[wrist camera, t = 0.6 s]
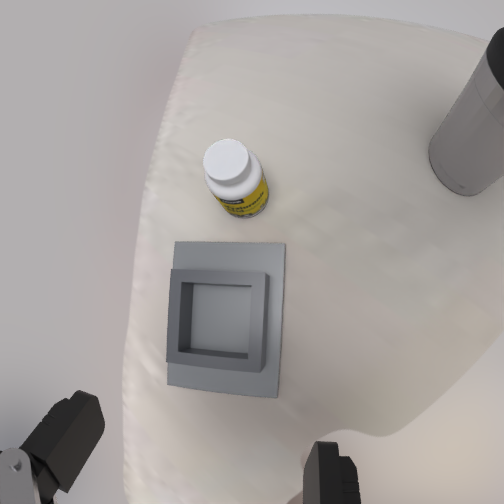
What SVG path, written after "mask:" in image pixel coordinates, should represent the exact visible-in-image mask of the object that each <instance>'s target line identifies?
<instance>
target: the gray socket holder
mask: <svg viewBox="0 0 504 504" xmlns="http://www.w3.org/2000/svg"><path fill="white" fill-rule="evenodd" d="M284 270H285V243H240V242H175V247H174V258H173V269H171V277H170V291H169V308H168V328H167V355H166V362H168V378H167V385H171V386H177V387H183V388H189V389H196V390H203V391H210V392H218V393H226V394H235V395H244V396H255V397H267V398H277V396H278V384H279V369H280V353H281V335H282V316H283V294H284Z"/></svg>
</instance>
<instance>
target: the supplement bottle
mask: <svg viewBox="0 0 504 504" xmlns="http://www.w3.org/2000/svg"><path fill="white" fill-rule="evenodd" d="M203 166H204V169H205V181H206V184H207V186H208V188H209V190H210V191H211V192H212V194H213V195H214V196H215V197H216V199H217V200H218V201H219V202H220V204H221V205H222V206H223V207H224V209H225V210H226V211H227V212H228V213H230V214H231V215H233V216H235V217H239V218H248V217H252V216H255V215H256V214H258V213H259V212H261V211H262V210H263V208H264V207H265V205H266V203H267V201H268V195H269V194H268V186H267V183H266V180H265V176H264V173H263V170H262V167H261V164H260V161H259V159H258V158H257V156H256V155H255V154H254V153H253V152H252V151H250V150H249V149H247V148H246V147H245V146H244V145H243V144H242V143H241V142H239V141H237V140H235V139H223V140H219V141H217V142H215V143H214V144H212V145H211V146H210V147H209V148H208V149H207V151H206V152H205V155H204V158H203Z"/></svg>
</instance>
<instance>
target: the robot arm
mask: <svg viewBox="0 0 504 504" xmlns="http://www.w3.org/2000/svg"><path fill="white" fill-rule="evenodd" d="M429 158H430V162H431V165H432V167H433V170H434V172H435V173H436V175H437V176H438V178H439V179H440V180H441V181H442V182H443V184H444V185H446V186H447V187H448V188H449V189H450V190H452V191H454V192H456V193H458V194H461V195H465V196H472V195H476V194H478V193H480V192H482V191H483V190H484V189H486V188H487V187H488V186H490V185H491V184H492V183H493V182H495V181H496V180H498V179H499V178H500V177H501V176H503V175H504V27H503V28H501V29H499V30H498V31H497V32H496V33H495V34H494V36H493V38H492V39H491V41H490V43H489V45H488V47H487V49H486V51H485V53H484V54H483V56H482V58H481V60H480V62H479V63H478V65H477V67H476V69H475V71H474V72H473V74H472V76H471V78H470V79H469V81H468V83H467V84H466V86H465V88H464V89H463V91H462V93H461V94H460V96H459V98H458V99H457V101H456V102H455V104H454V106H453V107H452V109H451V110H450V112H449V114H448V115H447V117H446V118H445V120H444V121H443V123H442V124H441V126H440V127H439V129H438V130H437V132H436V133H435V135H434V136H433V138H432V140H431V142H430V146H429ZM104 428H105V421H104V418H103V414H102V411H101V407H100V404H99V400H98V398H97V397H96V396H94V395H91V394H88V393H86V392H83V391H81V390H78V391H76V392H75V393H74V394H73V396H72V397H71V398H70V399H67V398H64V399H63V400H61V401H59V402H58V403H56V404H54V406H53V407H52V408H51V409H50V411H49V412H48V414H47V415H46V416H45V417H44V418H43V419H42V422H40V423H39V424H38V426H37V427H36V428H35V429H34V431H33V432H32V433H31V434H30V436H29V437H28V438H27V439H26V441H25V442H24V443H23V444H22V446H21V447H19V448H9V449H6V450H4V451H0V504H58V503H57V499H56V495H55V493H56V491H57V490H58V489H60V490H62V491H64V492H66V493H68V491H69V490H70V488H71V486H72V485H73V483H74V481H75V479H76V478H77V476H78V475H79V473H80V471H81V469H82V468H83V466H84V464H85V463H86V461H87V459H88V458H89V456H90V454H91V453H92V451H93V449H94V448H95V446H96V444H97V443H98V441H99V440H100V438H101V436H102V434H103V432H104ZM303 504H361V499H360V492H359V483H358V475H357V468H356V466H355V465H354V463H353V461H352V460H351V458H350V457H349V456H348V457H347V456H339V450H338V444H337V443H336V442H321V441H316V442H315V443H314V445H313V448H312V450H311V452H310V455H309V457H308V459H307V462H306V465H305V468H304V475H303Z"/></svg>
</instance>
